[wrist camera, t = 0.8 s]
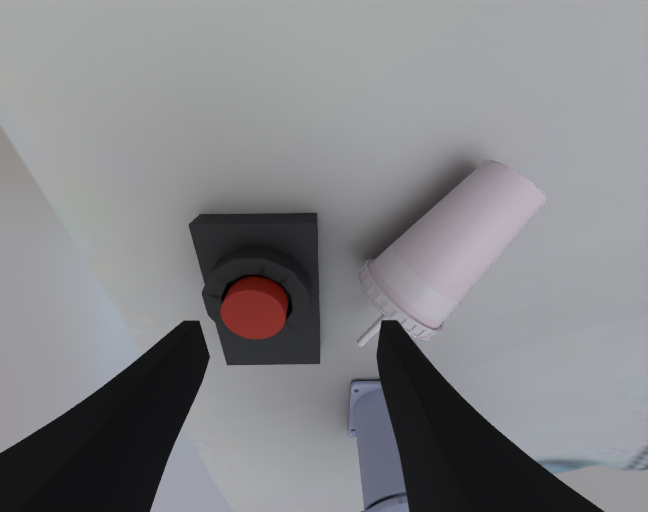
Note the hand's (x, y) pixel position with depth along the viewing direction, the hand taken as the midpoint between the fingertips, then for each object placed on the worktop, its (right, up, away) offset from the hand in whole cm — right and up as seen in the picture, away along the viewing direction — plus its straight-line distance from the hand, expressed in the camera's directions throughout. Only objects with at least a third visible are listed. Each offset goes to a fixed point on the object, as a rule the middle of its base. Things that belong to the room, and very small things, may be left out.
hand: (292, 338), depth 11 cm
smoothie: (+12, +8, +4) cm, 14 cm away
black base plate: (-3, +1, +11) cm, 11 cm away
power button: (-3, 0, +7) cm, 8 cm away
